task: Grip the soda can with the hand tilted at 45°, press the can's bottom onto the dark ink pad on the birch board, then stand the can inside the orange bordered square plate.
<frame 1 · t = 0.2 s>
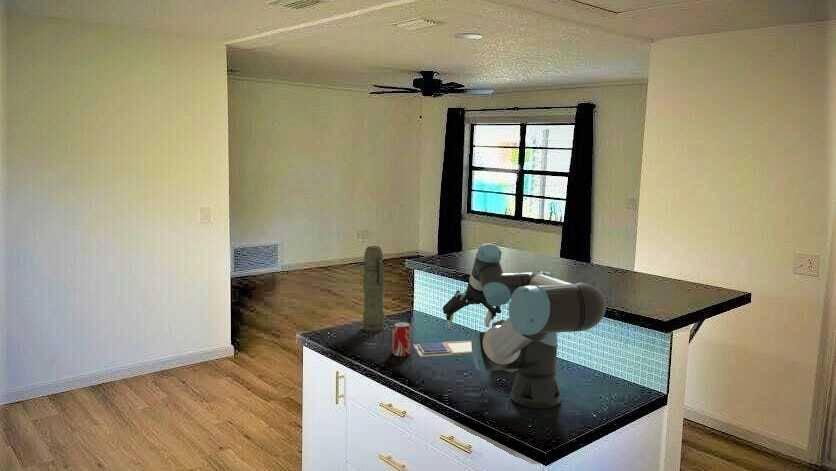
hand: (467, 324, 218), 16 cm above the worktop, tool tilted 35°, fingers open, 13 cm apart
thermos: (373, 329, 265), on the worktop
blotter board: (450, 350, 239), on the worktop
orange bordered square plate: (464, 347, 240), resting on blotter board
soda can: (401, 355, 233), on the worktop
ink pad: (433, 349, 237), resting on blotter board
coffee box: (506, 368, 221), on the worktop
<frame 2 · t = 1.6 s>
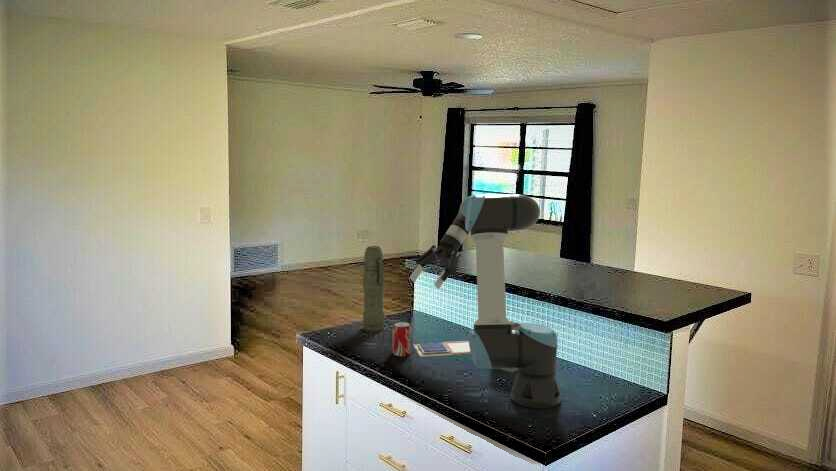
hand: (423, 283, 236), 26 cm above the worktop, tool tilted 45°, fingers open, 13 cm apart
nothing on the worktop moved.
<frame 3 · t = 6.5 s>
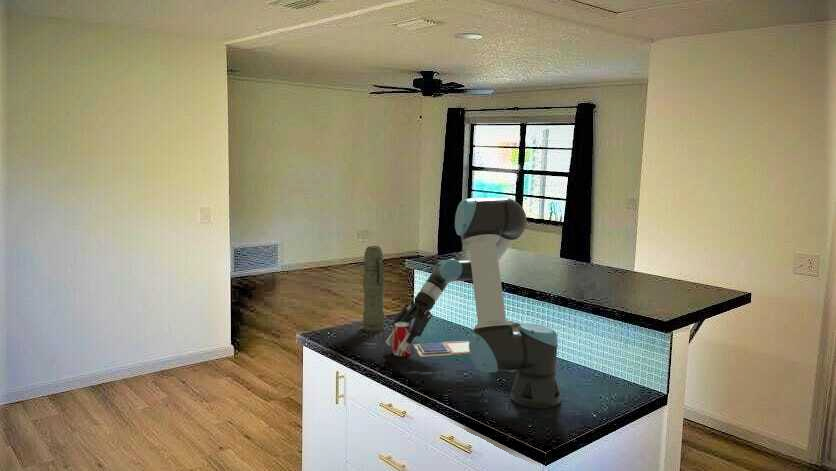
hand: (394, 346, 230), 4 cm above the worktop, tool tilted 45°, fingers closed on soda can, 7 cm apart
soda can: (401, 355, 233), on the worktop, touching gripper
everything else where it was.
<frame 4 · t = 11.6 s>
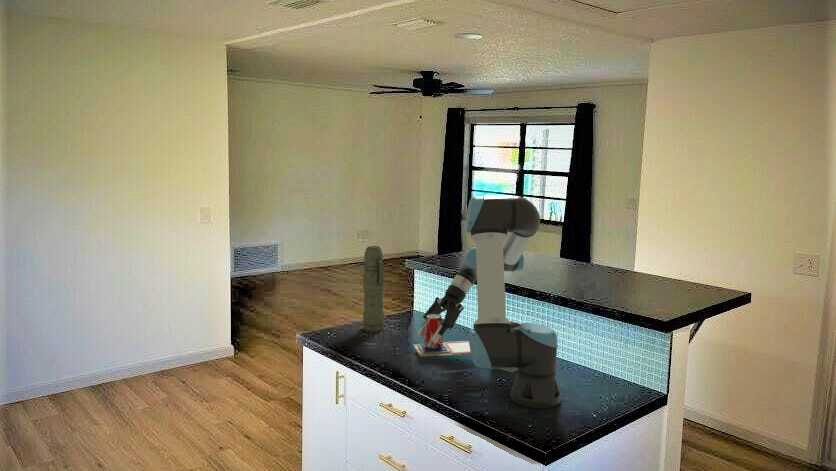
hand: (426, 338, 234), 6 cm above the worktop, tool tilted 45°, fingers closed on soda can, 7 cm apart
soda can: (433, 347, 237), point 2 cm above the worktop, touching gripper, ink pad
everything else where it was.
when the fingers open (6 cm above the worktop, at t = 16.9 s): soda can drops 2 cm, resting on orange bordered square plate.
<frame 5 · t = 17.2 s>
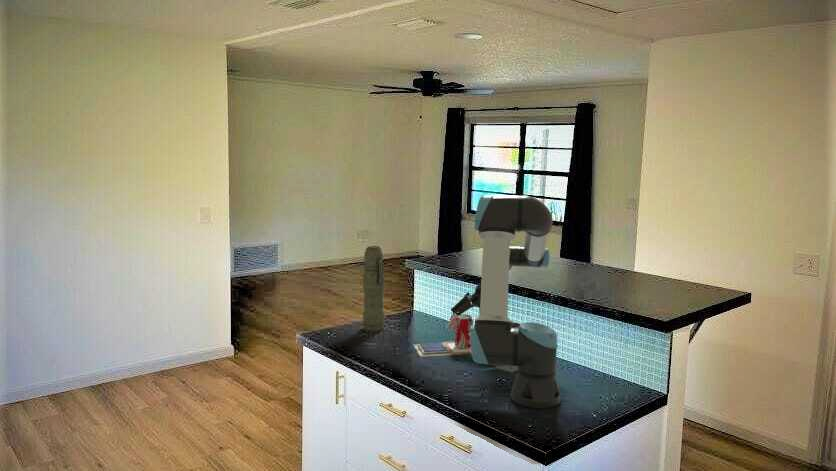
hand: (459, 332, 237), 7 cm above the worktop, tool tilted 45°, fingers open, 11 cm apart
soda can: (463, 347, 240), point 1 cm above the worktop, touching orange bordered square plate
everything else where it was.
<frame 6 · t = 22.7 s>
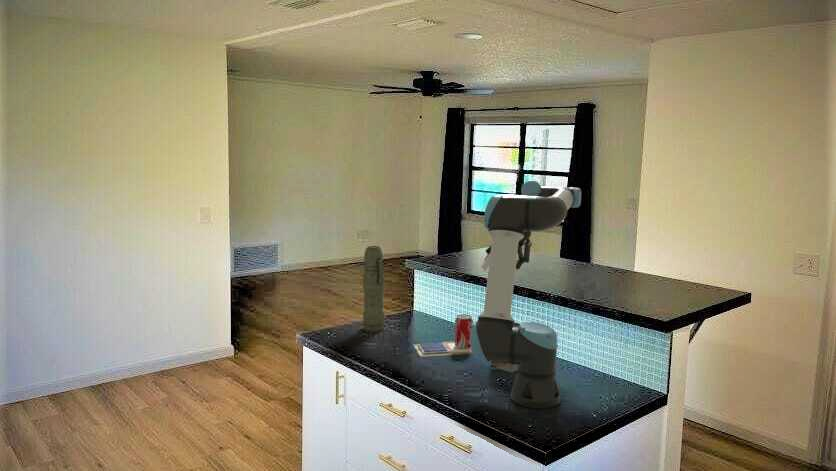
hand: (496, 271, 238), 30 cm above the worktop, tool tilted 45°, fingers open, 13 cm apart
nothing on the worktop moved.
at the end: soda can 0.4 cm off-centre on the orange bordered square plate, point 0.0 cm above the orange bordered square plate's base; soda can tilted 0°; the gripper is holding nothing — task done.
